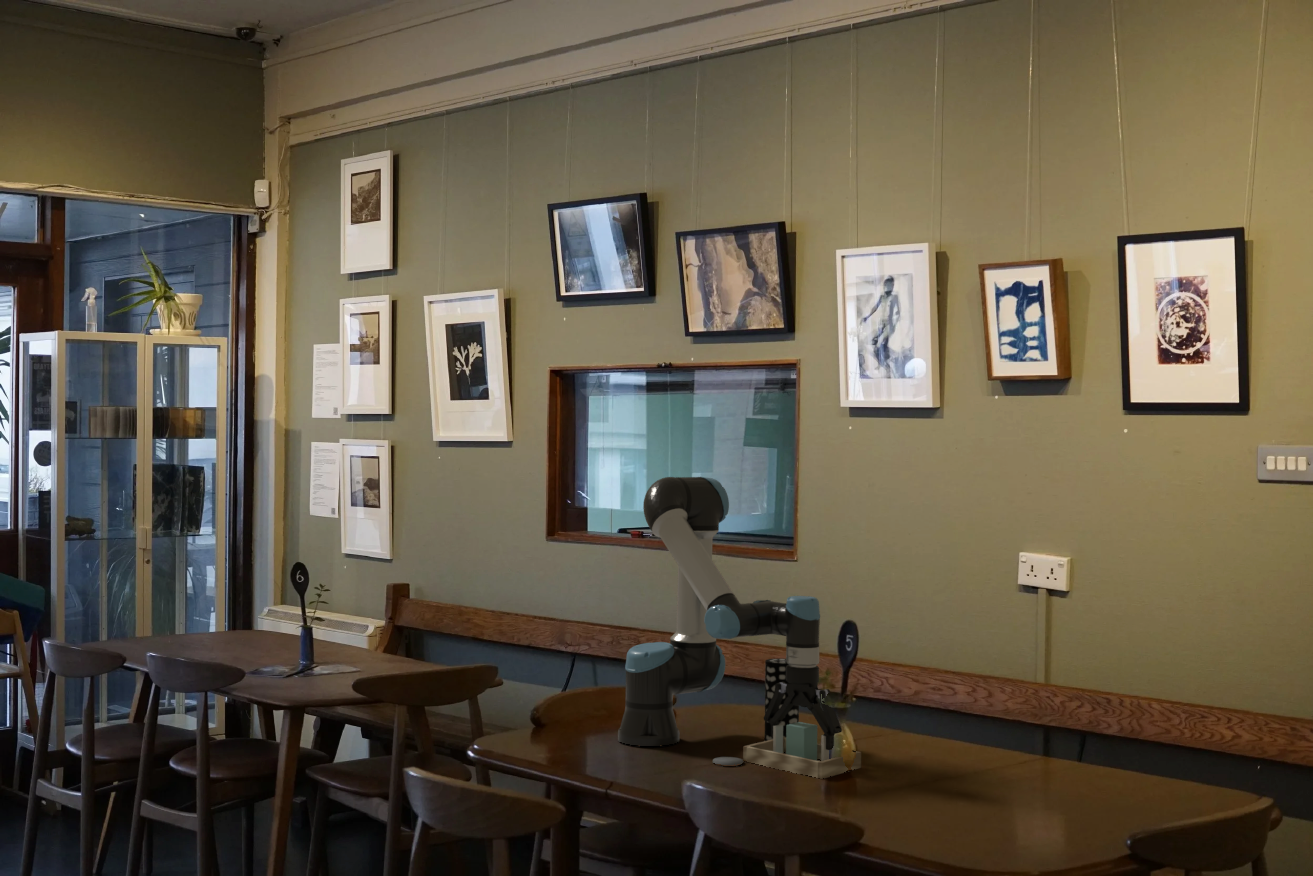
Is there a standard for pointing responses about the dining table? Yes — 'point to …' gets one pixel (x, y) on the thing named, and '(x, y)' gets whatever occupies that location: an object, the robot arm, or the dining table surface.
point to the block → (801, 740)
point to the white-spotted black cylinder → (773, 675)
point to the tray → (796, 760)
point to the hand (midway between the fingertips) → (801, 759)
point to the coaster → (727, 761)
